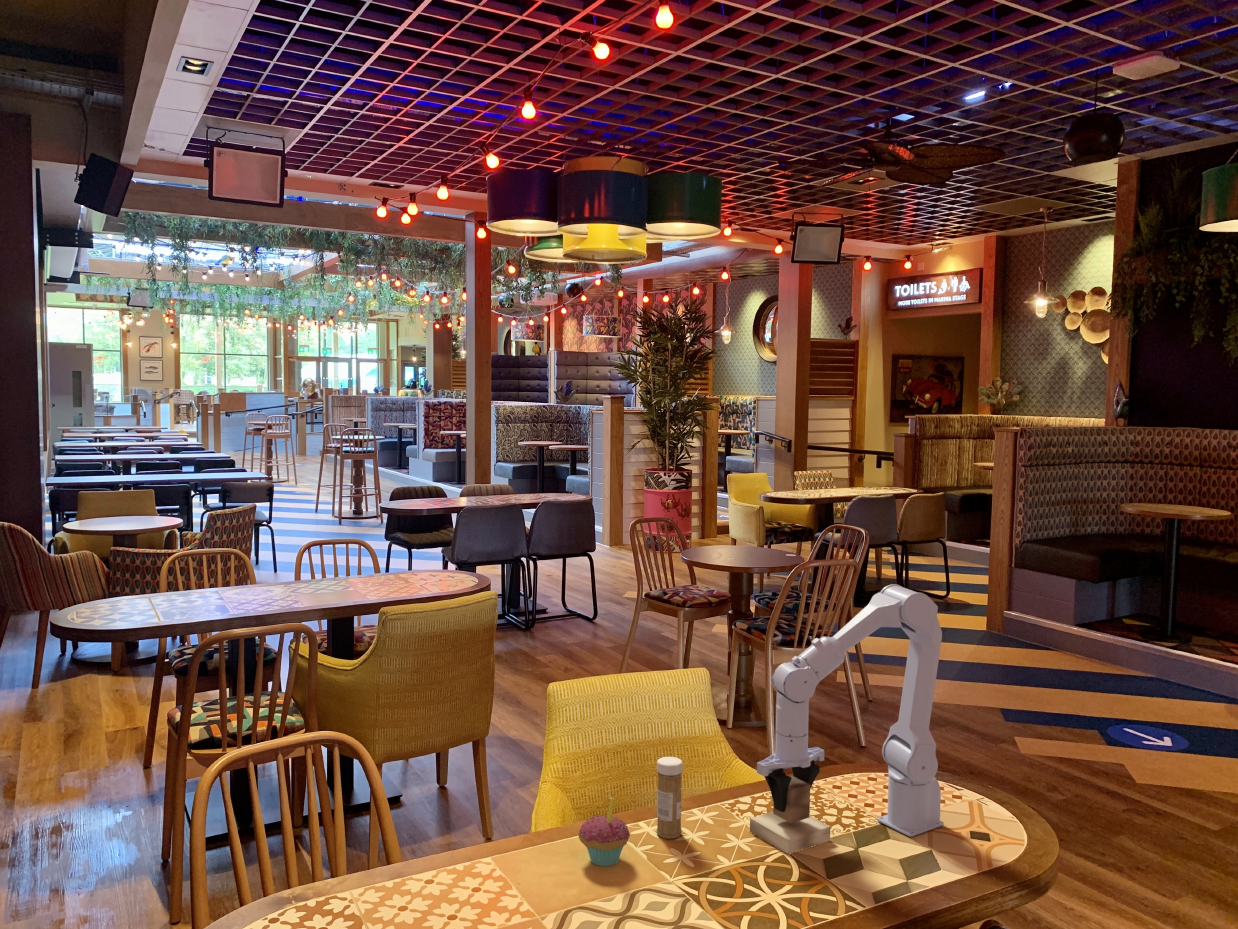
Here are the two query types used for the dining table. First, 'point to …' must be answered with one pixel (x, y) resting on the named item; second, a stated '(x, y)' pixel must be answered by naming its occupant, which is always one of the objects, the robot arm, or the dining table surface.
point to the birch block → (790, 832)
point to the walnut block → (796, 801)
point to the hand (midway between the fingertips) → (790, 806)
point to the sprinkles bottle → (669, 797)
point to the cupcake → (604, 837)
